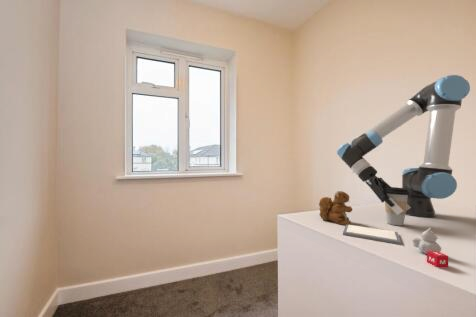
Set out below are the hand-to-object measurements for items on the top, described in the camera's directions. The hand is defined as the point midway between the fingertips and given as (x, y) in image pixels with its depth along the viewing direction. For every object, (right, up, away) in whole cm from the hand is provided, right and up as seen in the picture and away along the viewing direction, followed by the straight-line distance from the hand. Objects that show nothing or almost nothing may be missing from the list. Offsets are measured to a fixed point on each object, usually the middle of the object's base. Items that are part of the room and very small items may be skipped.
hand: (404, 211), depth 95 cm
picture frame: (-21, -6, -12) cm, 25 cm away
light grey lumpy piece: (-14, -6, -28) cm, 32 cm away
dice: (-17, -6, -35) cm, 40 cm away
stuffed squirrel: (-27, -6, +5) cm, 28 cm away
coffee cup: (-2, -6, +2) cm, 7 cm away
